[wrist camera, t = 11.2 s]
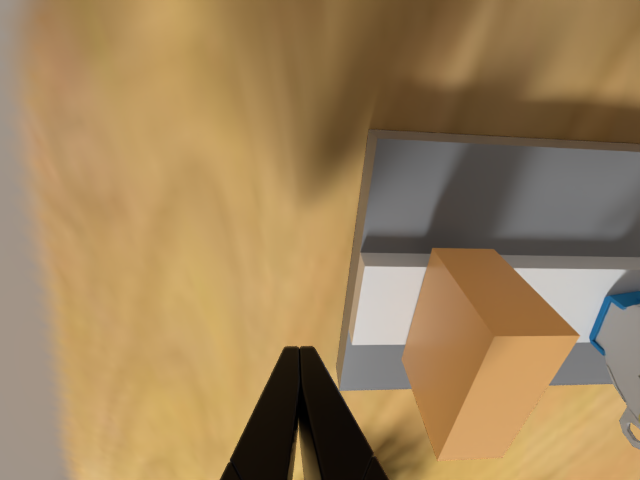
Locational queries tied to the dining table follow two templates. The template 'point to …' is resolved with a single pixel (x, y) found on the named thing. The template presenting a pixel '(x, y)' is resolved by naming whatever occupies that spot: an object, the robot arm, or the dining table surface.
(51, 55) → the dining table surface
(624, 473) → the dining table surface
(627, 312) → the electric motor
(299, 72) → the dining table surface
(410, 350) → the tall tan wooden block
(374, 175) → the rail
